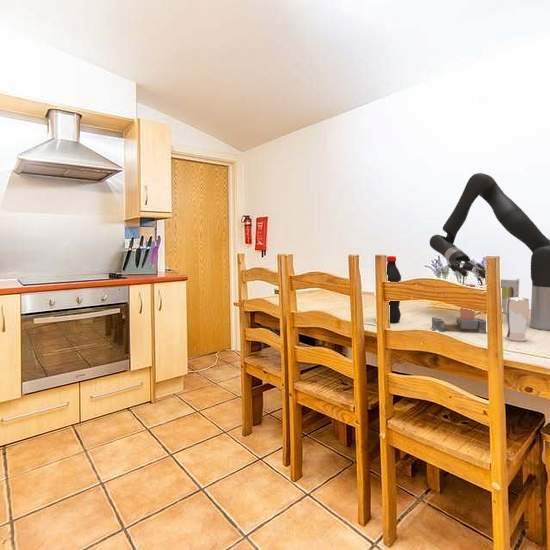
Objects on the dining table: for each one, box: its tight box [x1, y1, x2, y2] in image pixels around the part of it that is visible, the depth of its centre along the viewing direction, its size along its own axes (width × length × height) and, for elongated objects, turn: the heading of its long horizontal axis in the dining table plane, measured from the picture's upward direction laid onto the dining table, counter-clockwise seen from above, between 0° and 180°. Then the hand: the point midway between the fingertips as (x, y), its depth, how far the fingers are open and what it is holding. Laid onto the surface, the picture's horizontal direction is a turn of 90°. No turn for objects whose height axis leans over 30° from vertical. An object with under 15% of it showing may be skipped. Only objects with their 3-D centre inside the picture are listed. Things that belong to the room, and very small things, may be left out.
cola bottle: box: [386, 255, 402, 324], centre depth 162 cm, size 8×8×30 cm
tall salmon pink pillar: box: [455, 283, 478, 329], centre depth 143 cm, size 6×6×17 cm
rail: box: [431, 316, 487, 334], centre depth 144 cm, size 19×7×5 cm, turn 79°
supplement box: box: [500, 277, 520, 314], centre depth 178 cm, size 10×9×17 cm
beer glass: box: [505, 296, 530, 342], centre depth 130 cm, size 7×7×15 cm
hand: (475, 275), depth 148 cm, fingers open, 8 cm apart
